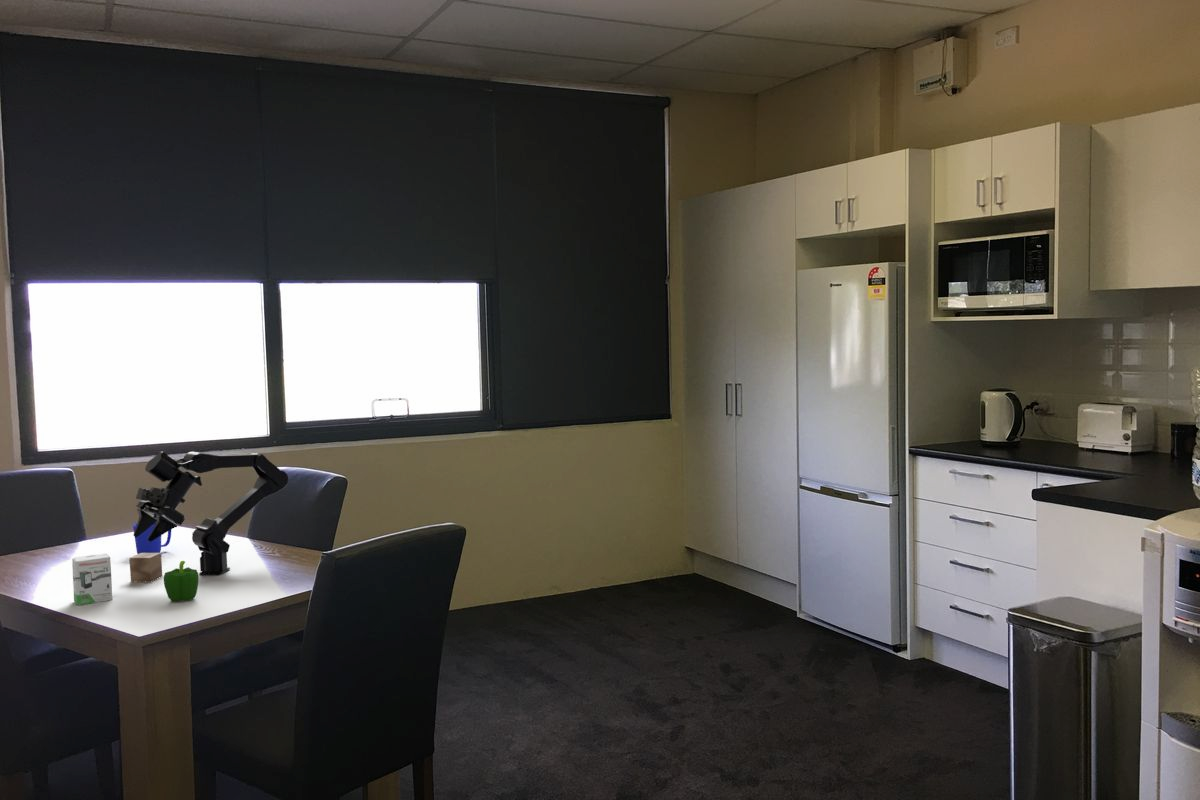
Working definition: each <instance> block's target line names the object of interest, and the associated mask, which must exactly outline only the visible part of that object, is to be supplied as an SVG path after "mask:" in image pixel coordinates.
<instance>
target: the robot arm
mask: <svg viewBox="0 0 1200 800" xmlns="http://www.w3.org/2000/svg"><path fill="white" fill-rule="evenodd" d="M227 468H228V469H229V468H252V469H253V471H254V472H255V474H256V475H257V476H258V478H257V479H256V481H255V483H254V485H253V487H252V488H251V489H250V490H248V491H247V492H246V493H245V494H243V495H242V496H241V497H240V498H239V499H238V500H236V501H235V502H234V503H233V504H232V505H231V506H230V507H229V508H227V509H226V510H225V511H224V512H223V513H222V514H220V515H219V516H218V517H217V518H215V519H211V518H207V517H206V518H205V519H204V520H202V522H201V523H200V524H199V525H196V526H195V530H194V531H193V532H192V535H191V539H192V542H193V544H194V545H195V546H197V548H198V551H200V556H199V569H200V572H198V575H203V576H204V575H208V576H209V575H210V576H211V575H217V576H218V575H222V574H224V573H225V572H228V571H229V570H231V567H228V558H227V557H228V556H227V553H228V552H229V549H230V546H231V544H229V543H228V542H226V541H225V540H224V539H225V538H226V536H227V534H228V532H229V530H230V529H231V528H232V527H233V526H234V525H236V523H237V522H239V521H240V520H241V519H242V518H244V517H245V516H246V515H247V514H248V513H249V512H250V511H251V510H252V509H254V508H255V507H256V506H257V505H258V504H259V503H261V502H262V501H263V500H264V499H265V498H267V497H269V496H272V495H275V494H277V493H278V492H279V491H281V490H283V489H284V488H286V487H287V485H289V476H288V474H287V473H286V472H285V471H284V470H282V469H279V468H278V466H276V465H275V464H273V462H271V461H270V460H269V459H268V458H267V457H266V455H264V454H263V453H256V452H252V453H239V454H236V453H235V454H211V453H203V452H199V451H198V452H197V451H189V452H187V453H185V455H184V456H183V457H181V458H178V459H173V458H172V457H171V456H169V455H168V454H167V453H166V452H164V451H159V453H158V454H157V455H155V456H153V457H152V458H151V459H150V460H149V461H148V462H147V463H146V466H145V469H144V470H145V472H147V473H148V474H150V475H151V476H153V477H154V478H156V479H157V480H159V481H160V482H161V483H165V482H168V483H167V484H166V486H165V487H161V488H159V487H155V486H151V488H149V489H148V488H142V487H138V490H137V493H136V497H135V499H136V500H139V502H138V503H137V504H136V506H135V507H136V511H137V513H138V519H137V523H136V524H137V526H136V529H135V532H134V531H133V537H134V538H135V537H138V536H139V535H141V534H142V533H143V532H144V531H146V530H147V529H148V528H149V527H151V526H152V525H153V524H154V523H156V524H155V526H154V527H153V529H152V531H151V533H150V535H149V537H148V539H147V540H148V541H149V542H151V541H153V540H155V539H156V538H158V537H159V536H161V537H162V536H163V535H165V534H166V533H168V531H169V530H171V531H172V529H175V528H177V527H178V526H182V524H183V522H184V521H185V515H184V514H183V513H181V512H180V511H178V510H177V508H178V507H179V505H180V504H181V503H182V504H184V503H185V502H186V499H185V497H186V495H187V494H188V492H189V491H190V489H191V488H192V487H193V485H194V486H199V487H202V486H203V483H202V479H201V478H202V477H201V475H194V474H192V473H196V474H204V473H208V472H212V471H215V470H218V469H227ZM182 470H186V471H184V472H183V471H182Z"/></svg>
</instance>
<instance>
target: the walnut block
mask: <svg viewBox="0 0 1200 800" xmlns="http://www.w3.org/2000/svg"><path fill="white" fill-rule="evenodd" d="M162 563H163V561H162V552H160V553H140V554H135V555H133V556H131V557H129V573H130V583H135V582H134V581H137V582H136V583H152V582H154V581H156V580H158V579H160V578H162V577H163V564H162ZM161 576H162V577H161ZM159 577H160V578H159ZM157 578H158V579H157ZM155 579H156V580H155ZM153 580H154V581H153ZM145 581H146V582H145ZM151 581H152V582H151Z"/></svg>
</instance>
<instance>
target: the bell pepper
mask: <svg viewBox="0 0 1200 800" xmlns="http://www.w3.org/2000/svg"><path fill="white" fill-rule="evenodd" d="M185 563H186V562H185V561H184V560H181V561H180V562H179V567H178V568H174V569H172V570H169V571H167V572H165V573H164V575H163V585H164V589H165V592H166V595H167V598H168V599H169V600H170V602H172V603H181V602H183V601H184V602H187V601H188V602H189V601H192V600H194V599H195V597H196V596H197V594H198V593H197V592H198V587H199V572H198V570H197V569H193V568H190V567H189V566H188V567H185V568H184V565H185Z"/></svg>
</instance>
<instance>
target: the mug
mask: <svg viewBox="0 0 1200 800" xmlns="http://www.w3.org/2000/svg"><path fill="white" fill-rule="evenodd" d="M155 524H156V523H154V524H153V525H152V526H151V527H149V528H148V529H147V530H146V531H144V532H143V533H142V534H141V535H139V536H138V537H135V536H134V541H135V543H134V544H135V548H136V553H137V554H140V553H162V548H166V547H167V546H168V545H170V542H171V537H172V529H171V530H169V531H168V532H167V538H166V541H165V543H164V544H162V535H161V536H159V537H158V538H156V539H155V540H153V541H151V542H149V541H148V540H147V539H148V537H149V535H150V533H151V531H152V529H153V527H154V526H155ZM132 526H133V533H134V532H135V529H136V526H137V523H135V524H132ZM137 554H136V555H137Z"/></svg>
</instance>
